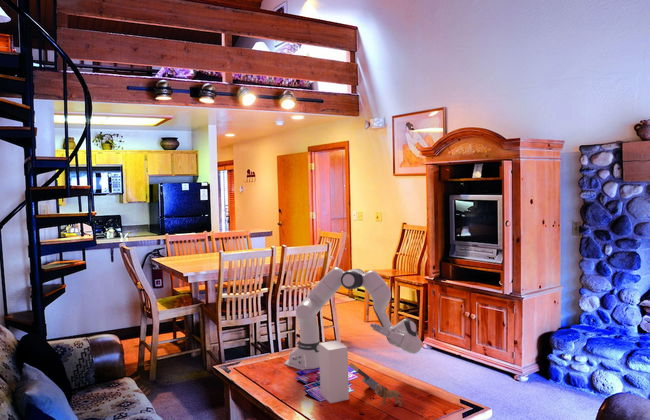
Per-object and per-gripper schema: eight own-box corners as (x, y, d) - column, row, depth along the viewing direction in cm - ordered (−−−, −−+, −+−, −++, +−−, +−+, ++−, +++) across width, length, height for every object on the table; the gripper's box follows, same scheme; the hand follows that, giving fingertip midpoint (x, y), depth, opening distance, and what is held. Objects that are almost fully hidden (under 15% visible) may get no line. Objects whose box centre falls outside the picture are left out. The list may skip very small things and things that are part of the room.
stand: (338, 390, 255) (337, 340, 253) (348, 399, 244) (347, 346, 242) (320, 394, 251) (318, 343, 249) (330, 403, 240) (328, 350, 238)
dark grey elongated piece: (350, 361, 253) (345, 368, 252) (354, 365, 248) (349, 371, 248) (374, 380, 259) (369, 386, 258) (378, 383, 254) (374, 390, 253)
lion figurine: (374, 405, 237) (373, 386, 236) (375, 400, 242) (375, 382, 241) (405, 407, 233) (404, 388, 233) (406, 402, 238) (405, 384, 238)
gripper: (388, 326, 271) (368, 317, 265) (409, 336, 252) (388, 326, 247) (383, 337, 270) (363, 327, 264) (404, 348, 251) (383, 338, 246)
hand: (375, 327), depth 255 cm, fingers open, 8 cm apart
